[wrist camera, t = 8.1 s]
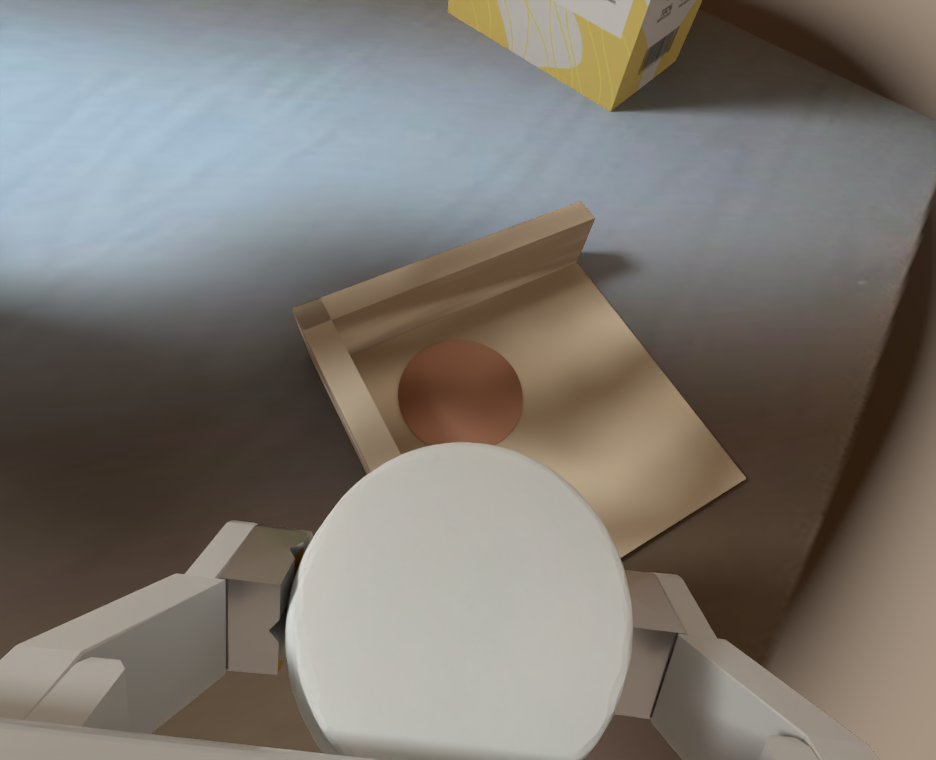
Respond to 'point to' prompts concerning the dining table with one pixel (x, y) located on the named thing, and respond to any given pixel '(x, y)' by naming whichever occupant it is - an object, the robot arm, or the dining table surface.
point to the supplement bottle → (459, 613)
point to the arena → (517, 374)
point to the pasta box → (587, 39)
